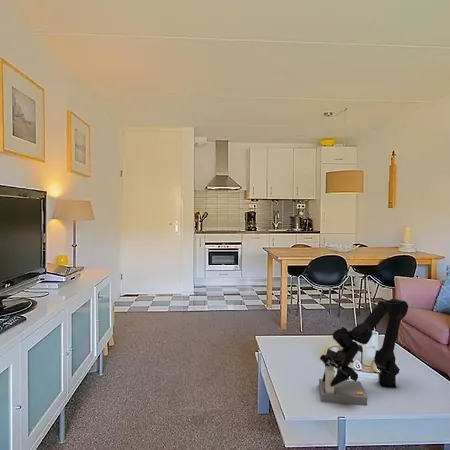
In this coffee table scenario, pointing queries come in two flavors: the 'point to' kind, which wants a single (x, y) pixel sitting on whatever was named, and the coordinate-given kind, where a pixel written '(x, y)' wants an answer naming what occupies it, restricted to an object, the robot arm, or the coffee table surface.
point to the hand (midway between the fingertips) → (327, 383)
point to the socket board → (344, 393)
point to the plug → (329, 379)
